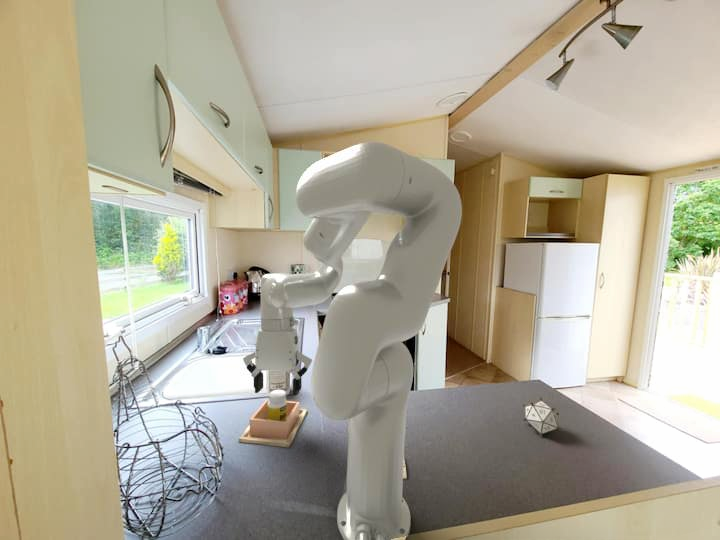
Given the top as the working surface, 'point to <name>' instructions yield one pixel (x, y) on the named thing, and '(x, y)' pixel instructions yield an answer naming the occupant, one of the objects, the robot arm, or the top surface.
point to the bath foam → (278, 381)
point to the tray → (273, 441)
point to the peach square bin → (274, 422)
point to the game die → (541, 417)
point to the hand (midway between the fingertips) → (277, 391)
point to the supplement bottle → (277, 406)
